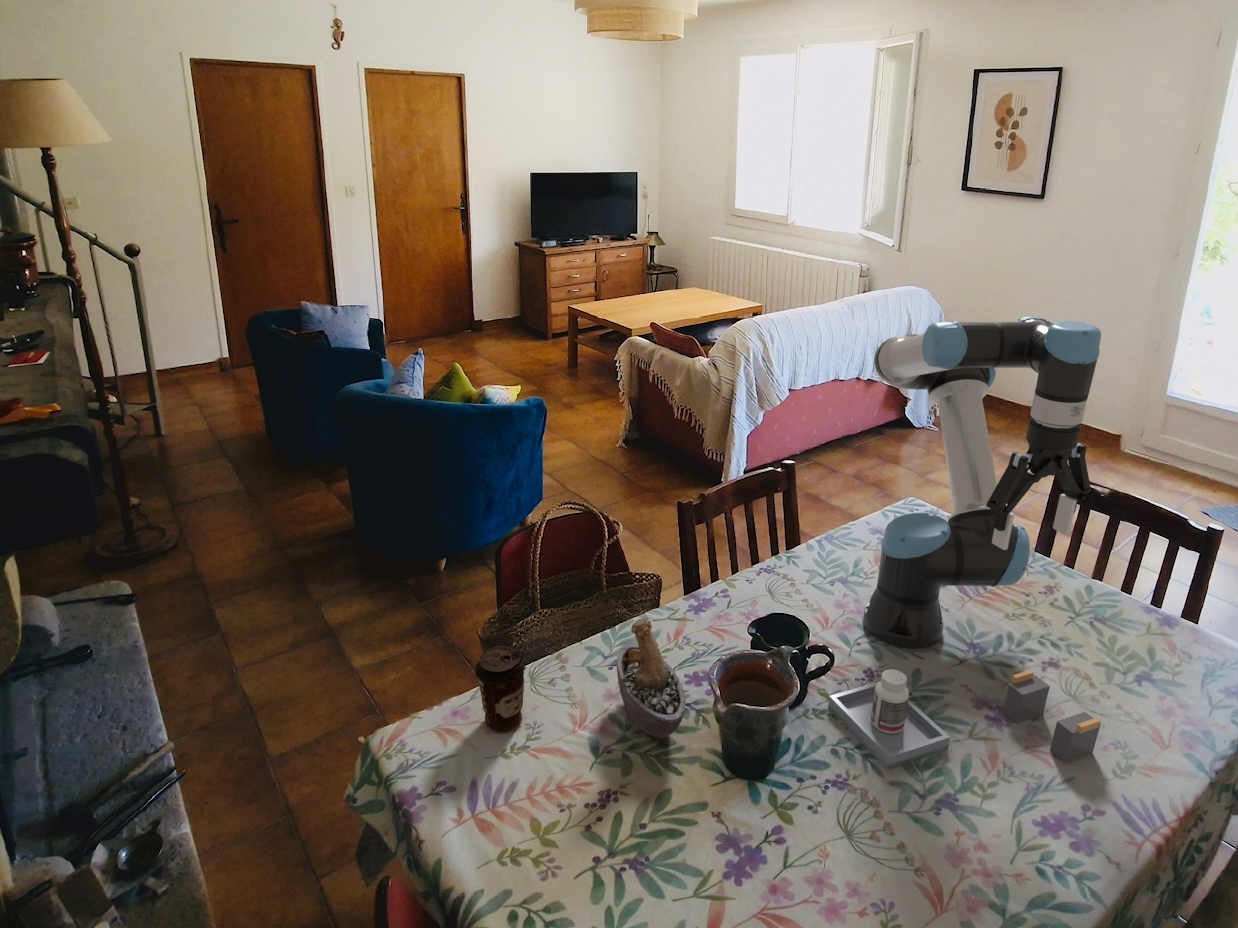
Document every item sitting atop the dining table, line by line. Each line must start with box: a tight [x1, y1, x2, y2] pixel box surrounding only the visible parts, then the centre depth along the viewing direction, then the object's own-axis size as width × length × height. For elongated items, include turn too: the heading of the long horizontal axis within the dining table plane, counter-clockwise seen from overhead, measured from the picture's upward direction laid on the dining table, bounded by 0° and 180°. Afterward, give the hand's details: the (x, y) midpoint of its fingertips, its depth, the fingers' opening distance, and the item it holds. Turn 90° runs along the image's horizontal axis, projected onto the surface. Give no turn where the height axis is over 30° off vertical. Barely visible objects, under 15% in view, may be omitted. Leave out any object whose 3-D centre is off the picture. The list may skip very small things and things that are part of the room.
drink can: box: [474, 645, 527, 734], centre depth 141 cm, size 9×8×13 cm
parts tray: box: [827, 680, 951, 771], centre depth 141 cm, size 16×12×2 cm
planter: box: [616, 618, 687, 739], centre depth 140 cm, size 15×17×20 cm
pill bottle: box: [871, 669, 910, 734], centre depth 139 cm, size 5×5×10 cm
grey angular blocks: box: [1002, 669, 1102, 764], centre depth 139 cm, size 14×6×7 cm, turn 22°
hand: (1030, 538), depth 142 cm, fingers open, 13 cm apart
